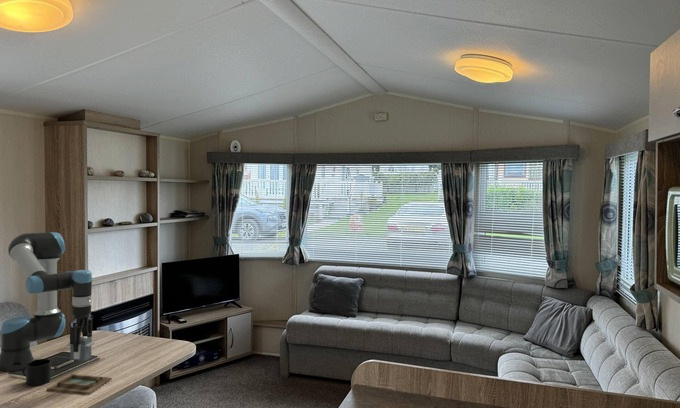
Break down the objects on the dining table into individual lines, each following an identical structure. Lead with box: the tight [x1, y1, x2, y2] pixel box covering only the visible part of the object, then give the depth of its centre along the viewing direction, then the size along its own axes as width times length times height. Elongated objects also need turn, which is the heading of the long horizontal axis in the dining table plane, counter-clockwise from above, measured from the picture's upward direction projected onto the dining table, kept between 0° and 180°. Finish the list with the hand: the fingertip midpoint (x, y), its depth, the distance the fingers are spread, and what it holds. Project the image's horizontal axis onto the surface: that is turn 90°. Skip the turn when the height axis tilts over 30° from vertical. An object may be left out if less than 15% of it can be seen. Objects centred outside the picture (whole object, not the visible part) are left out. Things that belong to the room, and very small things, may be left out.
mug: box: [21, 358, 52, 387], centre depth 215 cm, size 9×12×9 cm
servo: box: [66, 335, 96, 362], centre depth 213 cm, size 10×4×10 cm, turn 83°
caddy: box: [46, 373, 112, 395], centre depth 213 cm, size 20×16×2 cm
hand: (80, 356), depth 213 cm, fingers closed on servo, 4 cm apart
